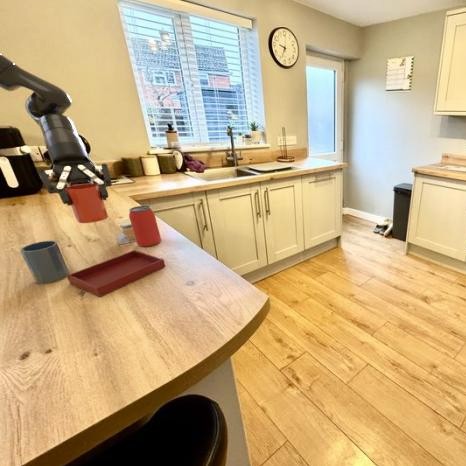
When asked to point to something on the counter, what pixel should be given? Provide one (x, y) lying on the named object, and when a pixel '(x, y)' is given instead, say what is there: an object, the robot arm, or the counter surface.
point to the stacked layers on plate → (126, 232)
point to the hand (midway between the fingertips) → (87, 201)
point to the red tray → (115, 272)
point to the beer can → (144, 225)
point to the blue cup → (45, 261)
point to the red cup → (87, 203)
